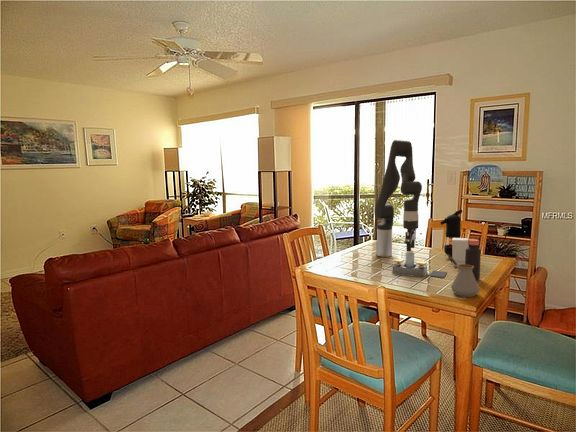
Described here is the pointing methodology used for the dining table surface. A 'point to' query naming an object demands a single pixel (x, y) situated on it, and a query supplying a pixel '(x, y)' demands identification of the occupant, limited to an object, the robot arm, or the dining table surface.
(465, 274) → the coffee pot
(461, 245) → the skincare box
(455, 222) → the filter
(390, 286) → the dining table surface
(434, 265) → the dining table surface
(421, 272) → the housing
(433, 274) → the mat
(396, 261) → the plunger
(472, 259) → the bottle
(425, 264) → the plunger
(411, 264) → the cartridge
